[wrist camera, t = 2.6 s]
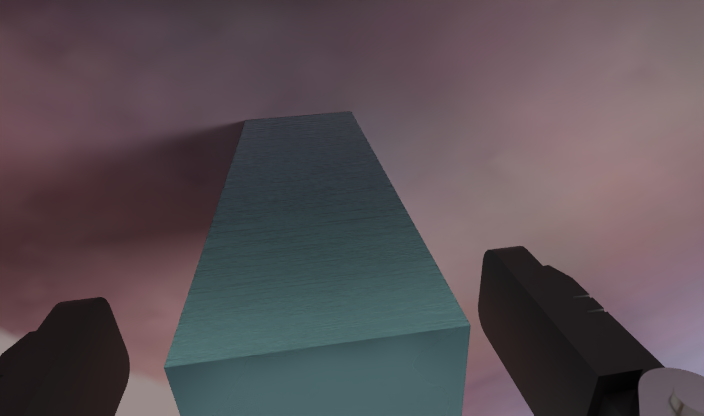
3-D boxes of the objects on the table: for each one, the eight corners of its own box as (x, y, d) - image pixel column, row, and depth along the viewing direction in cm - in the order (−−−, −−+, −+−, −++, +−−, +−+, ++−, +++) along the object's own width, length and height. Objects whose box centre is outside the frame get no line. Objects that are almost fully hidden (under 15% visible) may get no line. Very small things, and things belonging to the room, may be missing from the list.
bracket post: (351, 111, 16) (470, 325, 6) (355, 204, 18) (453, 498, 8) (245, 120, 16) (163, 367, 5) (261, 214, 18) (223, 539, 7)
